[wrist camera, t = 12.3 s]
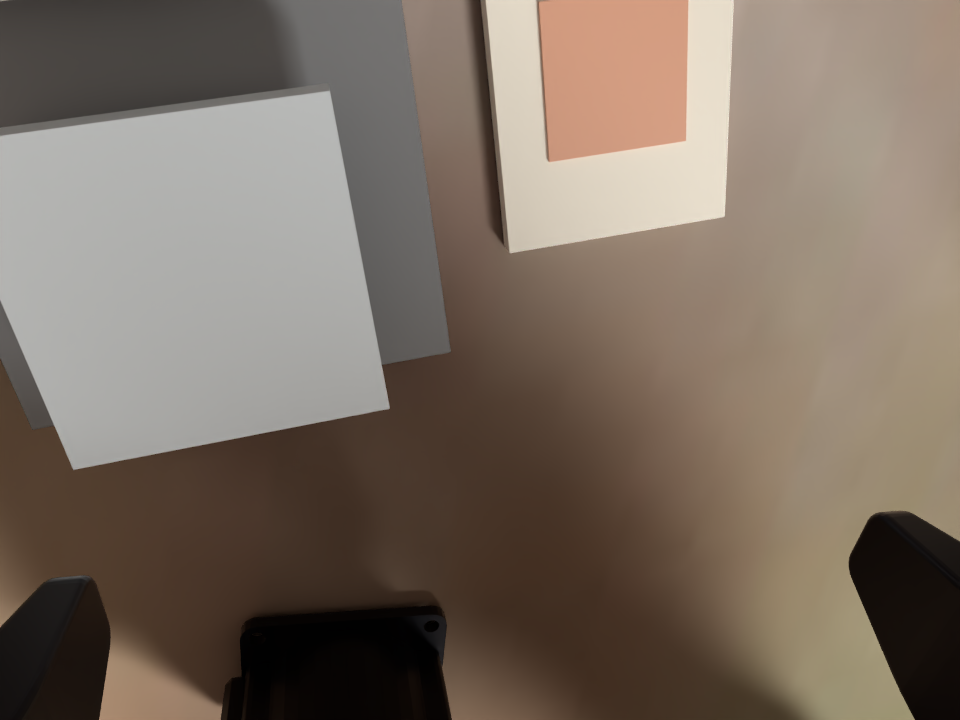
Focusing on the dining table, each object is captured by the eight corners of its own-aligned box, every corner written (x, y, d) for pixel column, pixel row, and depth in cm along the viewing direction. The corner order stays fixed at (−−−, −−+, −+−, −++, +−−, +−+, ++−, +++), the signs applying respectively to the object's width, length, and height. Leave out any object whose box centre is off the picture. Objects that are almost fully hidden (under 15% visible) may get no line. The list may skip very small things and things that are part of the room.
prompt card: (714, 211, 21) (726, 217, 20) (504, 246, 20) (510, 254, 19) (726, -130, 17) (741, -135, 16) (470, -103, 16) (476, -107, 16)
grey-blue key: (384, 379, 17) (389, 408, 16) (91, 434, 16) (73, 470, 15) (328, 82, 14) (329, 90, 13) (-32, 132, 13) (-67, 144, 12)
